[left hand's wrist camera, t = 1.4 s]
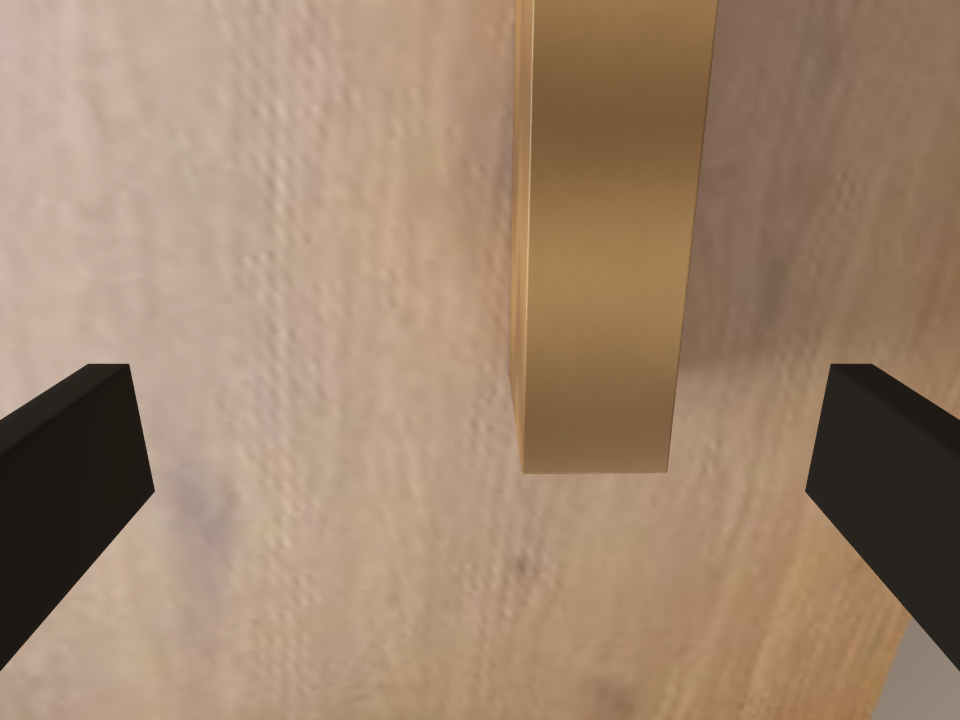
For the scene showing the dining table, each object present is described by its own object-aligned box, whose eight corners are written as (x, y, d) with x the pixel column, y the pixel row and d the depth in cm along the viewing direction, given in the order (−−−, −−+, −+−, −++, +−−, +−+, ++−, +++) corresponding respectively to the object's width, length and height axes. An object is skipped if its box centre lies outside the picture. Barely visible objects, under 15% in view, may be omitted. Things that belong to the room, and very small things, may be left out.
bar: (616, 379, 29) (667, 473, 21) (509, 379, 29) (521, 474, 21) (664, -251, 21) (769, -456, 14) (518, -250, 21) (542, -457, 14)
